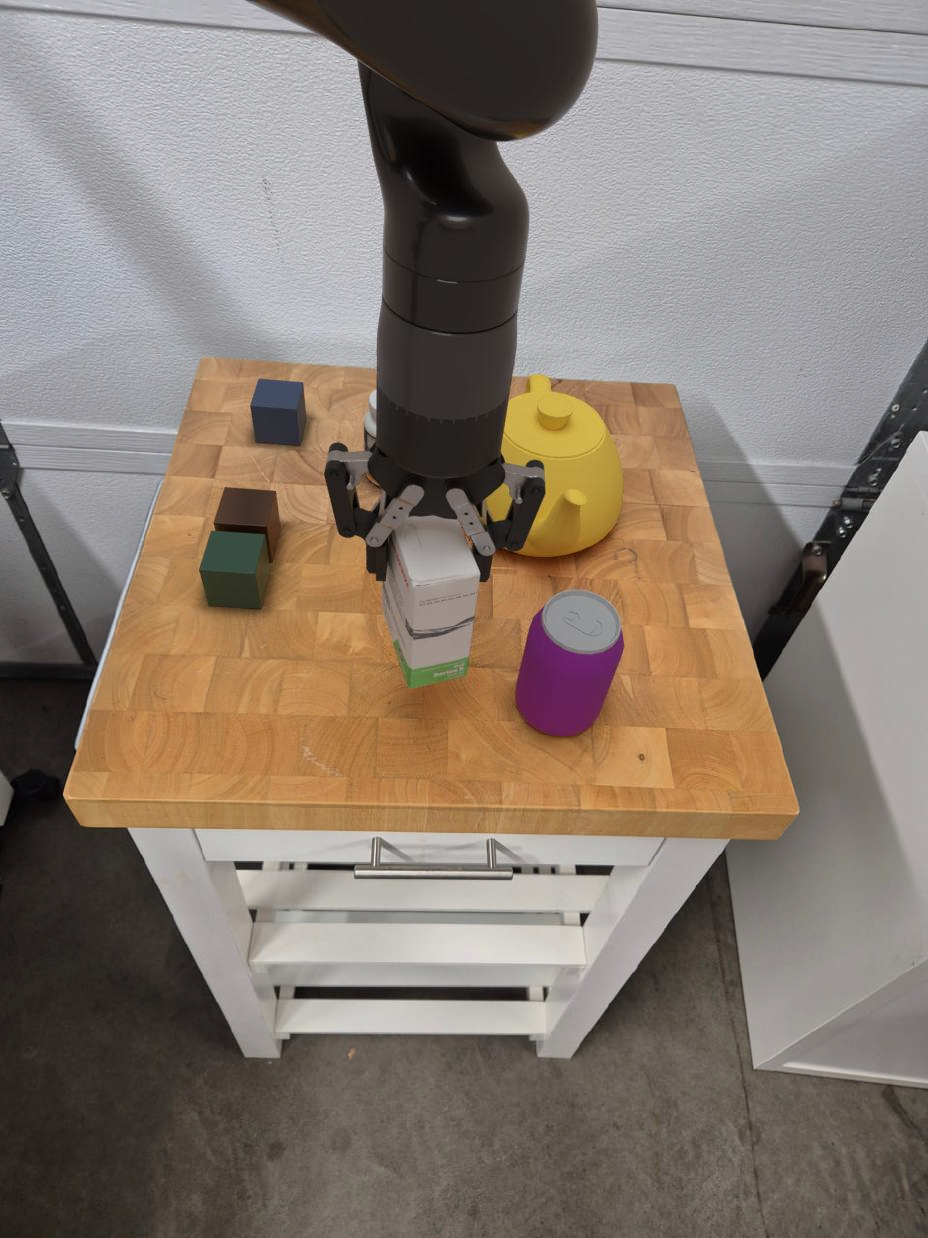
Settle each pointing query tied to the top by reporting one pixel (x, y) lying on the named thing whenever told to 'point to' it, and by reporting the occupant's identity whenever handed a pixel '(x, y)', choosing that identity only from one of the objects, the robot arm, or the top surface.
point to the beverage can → (569, 662)
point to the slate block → (278, 411)
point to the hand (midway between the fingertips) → (428, 575)
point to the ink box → (430, 599)
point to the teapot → (562, 469)
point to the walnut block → (250, 514)
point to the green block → (235, 569)
